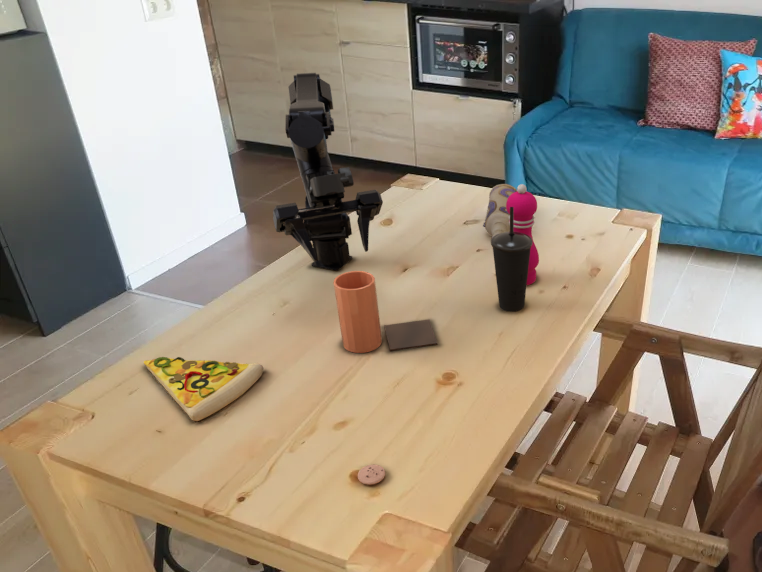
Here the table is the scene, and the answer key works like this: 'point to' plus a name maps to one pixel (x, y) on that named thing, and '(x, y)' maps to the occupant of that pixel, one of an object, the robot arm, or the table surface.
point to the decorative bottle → (498, 210)
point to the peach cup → (358, 311)
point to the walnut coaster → (410, 335)
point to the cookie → (371, 474)
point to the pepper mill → (525, 223)
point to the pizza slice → (203, 382)
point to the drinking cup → (511, 266)
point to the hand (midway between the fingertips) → (341, 255)
